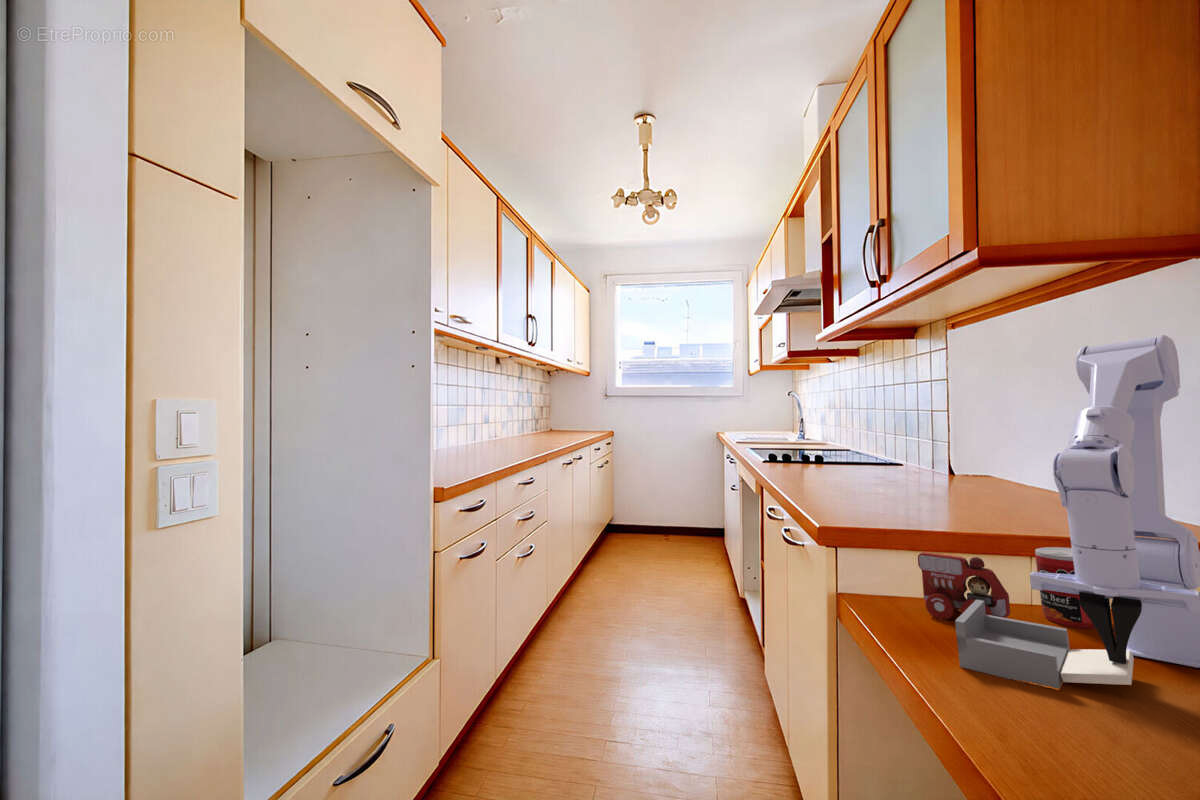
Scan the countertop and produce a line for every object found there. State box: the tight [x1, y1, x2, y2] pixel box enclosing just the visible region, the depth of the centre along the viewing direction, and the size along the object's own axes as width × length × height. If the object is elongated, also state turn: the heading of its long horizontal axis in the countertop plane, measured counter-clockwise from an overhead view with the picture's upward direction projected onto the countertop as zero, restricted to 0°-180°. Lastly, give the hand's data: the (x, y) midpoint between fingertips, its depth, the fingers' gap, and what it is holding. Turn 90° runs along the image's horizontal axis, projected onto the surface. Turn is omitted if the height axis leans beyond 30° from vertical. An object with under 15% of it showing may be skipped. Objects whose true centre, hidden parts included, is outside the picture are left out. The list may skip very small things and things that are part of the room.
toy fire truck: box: [917, 551, 1011, 621], centre depth 85 cm, size 7×12×10 cm, turn 40°
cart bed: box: [954, 600, 1070, 689], centre depth 68 cm, size 10×12×6 cm
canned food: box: [1034, 546, 1096, 630], centre depth 82 cm, size 8×8×11 cm
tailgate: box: [1060, 648, 1135, 686], centre depth 62 cm, size 1×9×6 cm
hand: (1117, 659), depth 61 cm, fingers closed
